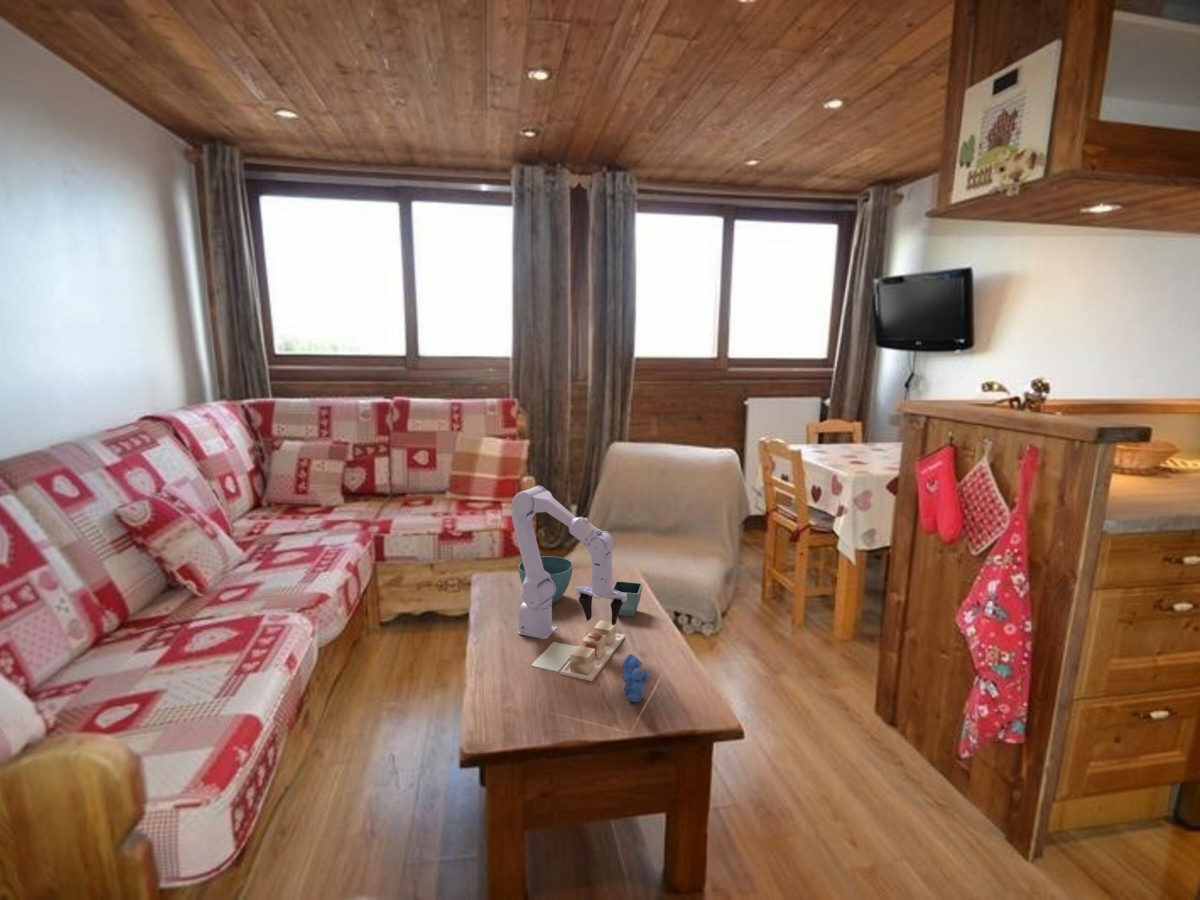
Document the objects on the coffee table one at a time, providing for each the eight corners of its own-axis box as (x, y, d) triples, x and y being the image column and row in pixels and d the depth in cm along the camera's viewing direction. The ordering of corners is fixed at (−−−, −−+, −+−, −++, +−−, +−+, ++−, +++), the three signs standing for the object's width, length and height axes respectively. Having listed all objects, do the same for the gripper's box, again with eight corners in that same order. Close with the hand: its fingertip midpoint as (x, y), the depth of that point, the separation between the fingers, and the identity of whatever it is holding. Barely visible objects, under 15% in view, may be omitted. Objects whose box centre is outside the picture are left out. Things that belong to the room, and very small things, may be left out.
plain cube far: (593, 643, 172) (593, 627, 171) (600, 636, 177) (600, 620, 176) (610, 646, 170) (610, 630, 169) (616, 639, 175) (616, 623, 174)
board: (530, 667, 160) (530, 665, 160) (553, 643, 173) (553, 641, 173) (557, 673, 157) (557, 671, 157) (579, 648, 170) (579, 646, 170)
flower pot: (638, 620, 188) (638, 593, 186) (610, 618, 189) (611, 591, 188) (642, 608, 196) (642, 583, 195) (615, 606, 198) (615, 580, 196)
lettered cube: (582, 657, 164) (582, 639, 164) (589, 648, 169) (589, 631, 168) (599, 660, 163) (599, 643, 162) (606, 652, 167) (606, 634, 166)
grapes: (657, 712, 140) (658, 665, 138) (630, 716, 139) (630, 669, 137) (642, 685, 151) (643, 641, 149) (616, 689, 150) (617, 644, 148)
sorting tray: (560, 675, 156) (560, 671, 156) (596, 633, 179) (596, 629, 179) (592, 682, 153) (592, 678, 153) (624, 638, 176) (624, 634, 176)
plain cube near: (570, 671, 157) (570, 654, 156) (577, 662, 162) (577, 645, 161) (587, 675, 155) (587, 657, 154) (595, 666, 160) (595, 648, 159)
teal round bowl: (510, 606, 197) (509, 571, 195) (532, 586, 214) (531, 553, 212) (561, 614, 192) (561, 577, 190) (580, 592, 209) (579, 558, 207)
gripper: (572, 577, 166) (572, 623, 168) (621, 584, 161) (621, 631, 163) (581, 568, 172) (581, 612, 175) (629, 575, 167) (629, 621, 170)
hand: (601, 621), depth 169 cm, fingers open, 7 cm apart
